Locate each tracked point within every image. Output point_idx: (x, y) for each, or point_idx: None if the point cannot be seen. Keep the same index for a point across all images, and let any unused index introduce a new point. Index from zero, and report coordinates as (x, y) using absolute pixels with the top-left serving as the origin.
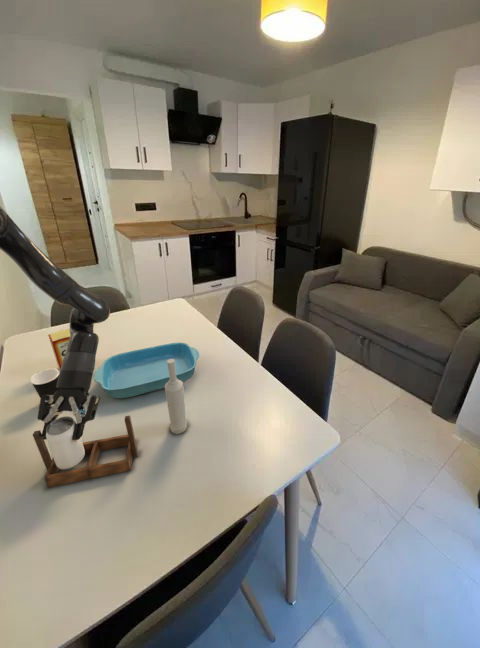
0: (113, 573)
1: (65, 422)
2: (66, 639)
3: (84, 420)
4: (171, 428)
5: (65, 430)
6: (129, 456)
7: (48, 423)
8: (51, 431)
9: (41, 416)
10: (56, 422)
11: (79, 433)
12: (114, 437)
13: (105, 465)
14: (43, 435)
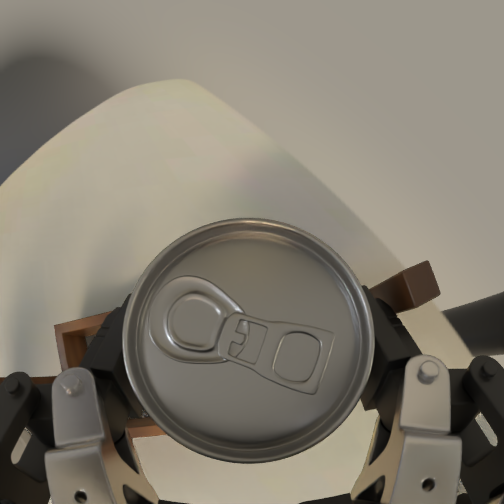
0: (77, 142)
1: (226, 395)
2: (120, 92)
3: (50, 390)
4: (22, 439)
5: (163, 291)
6: (57, 345)
7: (393, 358)
8: (297, 271)
9: (484, 379)
10: (326, 385)
11: (104, 323)
12: (133, 434)
13: (108, 313)
14: (371, 295)
